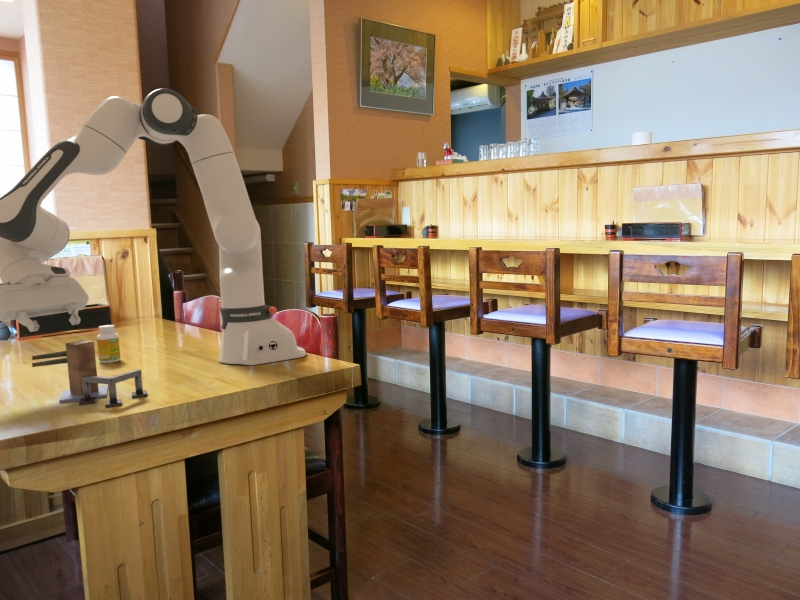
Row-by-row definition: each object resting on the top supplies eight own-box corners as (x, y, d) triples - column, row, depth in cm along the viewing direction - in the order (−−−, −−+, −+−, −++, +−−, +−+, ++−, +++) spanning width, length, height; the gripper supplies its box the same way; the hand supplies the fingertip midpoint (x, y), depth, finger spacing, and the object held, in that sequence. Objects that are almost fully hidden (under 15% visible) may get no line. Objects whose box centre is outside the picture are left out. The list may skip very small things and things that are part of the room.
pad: (107, 387, 148) (107, 385, 148) (106, 397, 140) (106, 394, 140) (63, 393, 145) (63, 390, 145) (59, 403, 137) (59, 400, 137)
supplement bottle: (112, 363, 175) (109, 327, 174) (94, 363, 177) (91, 327, 175) (124, 359, 181) (121, 324, 180) (107, 359, 182) (104, 324, 181)
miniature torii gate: (32, 352, 190) (88, 343, 197) (33, 360, 191) (89, 351, 198) (31, 366, 172) (94, 355, 179) (33, 374, 172) (95, 364, 179)
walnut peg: (87, 389, 145) (82, 340, 144) (98, 391, 143) (93, 341, 142) (70, 393, 142) (65, 343, 141) (81, 395, 140) (76, 344, 139)
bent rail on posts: (146, 393, 142) (144, 367, 142) (148, 402, 135) (145, 375, 134) (80, 401, 137) (77, 375, 137) (77, 411, 130) (75, 383, 129)
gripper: (-18, 275, 139) (12, 323, 135) (74, 267, 156) (103, 310, 152) (-26, 296, 142) (3, 343, 138) (65, 286, 159) (93, 328, 155)
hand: (56, 326), depth 145 cm, fingers open, 8 cm apart
